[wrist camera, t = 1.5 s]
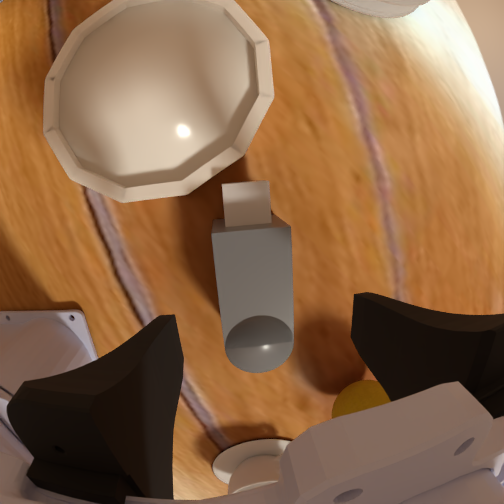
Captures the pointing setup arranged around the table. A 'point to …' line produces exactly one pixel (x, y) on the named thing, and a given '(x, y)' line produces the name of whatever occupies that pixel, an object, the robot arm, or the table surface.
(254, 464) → the teacup
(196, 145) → the plate
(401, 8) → the lid
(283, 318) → the connector
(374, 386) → the lemon
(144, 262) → the table surface
